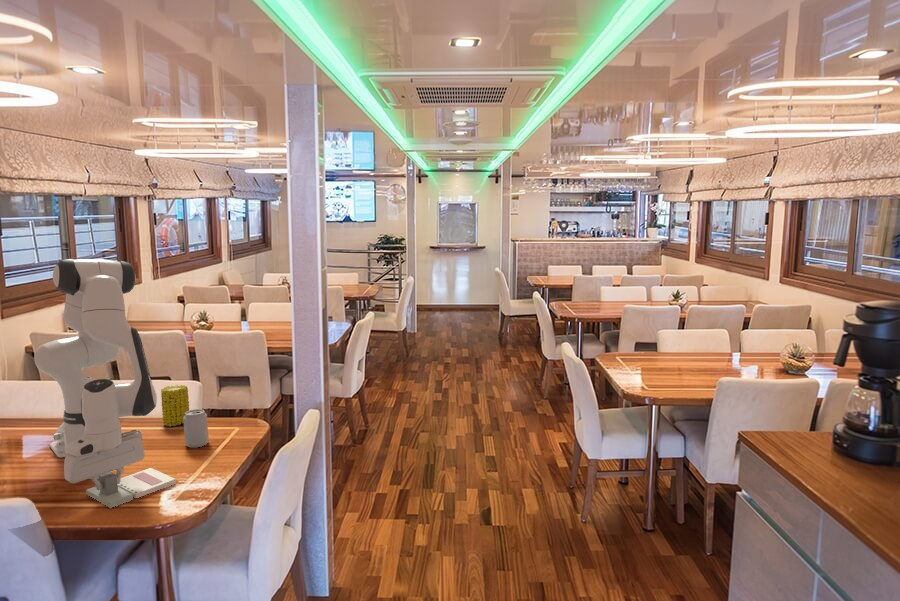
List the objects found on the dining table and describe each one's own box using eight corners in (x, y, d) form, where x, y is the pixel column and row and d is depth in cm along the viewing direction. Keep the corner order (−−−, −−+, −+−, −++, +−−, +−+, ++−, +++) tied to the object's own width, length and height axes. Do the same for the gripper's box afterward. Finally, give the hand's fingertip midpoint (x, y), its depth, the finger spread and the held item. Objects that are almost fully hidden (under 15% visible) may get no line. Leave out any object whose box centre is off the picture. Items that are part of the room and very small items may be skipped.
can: (212, 441, 211) (210, 408, 210) (202, 449, 204) (199, 415, 202) (192, 440, 212) (190, 407, 211) (181, 448, 205) (178, 414, 203)
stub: (86, 495, 171) (84, 472, 170) (108, 487, 176) (106, 465, 175) (110, 508, 163) (108, 485, 162) (133, 499, 168) (130, 477, 167)
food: (162, 432, 225) (168, 424, 235) (195, 423, 227) (199, 415, 237) (149, 394, 223) (156, 388, 232) (182, 384, 225) (187, 379, 235)
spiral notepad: (111, 486, 177) (111, 481, 176) (151, 472, 186) (150, 467, 186) (136, 499, 169) (135, 493, 168) (175, 484, 178) (175, 478, 178)
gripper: (135, 425, 177) (139, 470, 179) (58, 448, 161) (64, 496, 163) (146, 429, 174) (150, 475, 176) (69, 453, 157) (74, 503, 159)
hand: (108, 486), depth 169 cm, fingers closed on stub, 3 cm apart
